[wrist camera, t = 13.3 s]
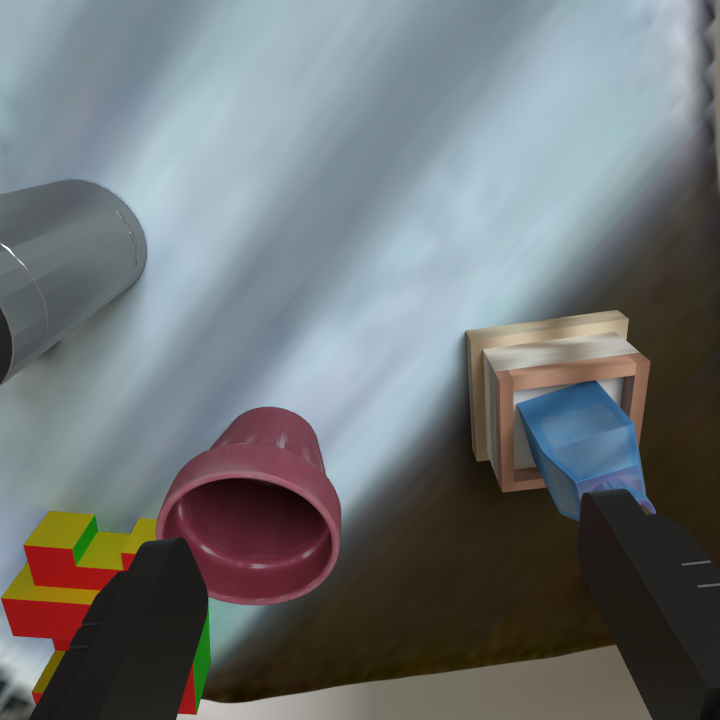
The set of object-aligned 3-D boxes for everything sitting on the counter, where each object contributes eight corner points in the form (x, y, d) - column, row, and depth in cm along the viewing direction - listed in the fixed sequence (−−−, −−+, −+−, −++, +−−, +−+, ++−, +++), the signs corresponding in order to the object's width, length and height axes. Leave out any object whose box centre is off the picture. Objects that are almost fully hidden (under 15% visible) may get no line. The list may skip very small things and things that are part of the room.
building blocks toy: (206, 521, 53) (139, 701, 37) (211, 659, 65) (161, 844, 48) (29, 506, 52) (-120, 685, 36) (65, 650, 64) (-36, 835, 47)
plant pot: (359, 485, 51) (359, 594, 39) (231, 509, 52) (196, 620, 41) (322, 367, 44) (310, 456, 33) (178, 398, 46) (119, 493, 34)
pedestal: (472, 448, 49) (490, 502, 42) (465, 330, 43) (485, 371, 36) (605, 432, 48) (645, 485, 41) (617, 310, 42) (666, 347, 35)
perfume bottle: (594, 378, 38) (686, 482, 27) (606, 438, 41) (695, 554, 30) (516, 403, 39) (576, 513, 28) (533, 460, 42) (593, 580, 31)
